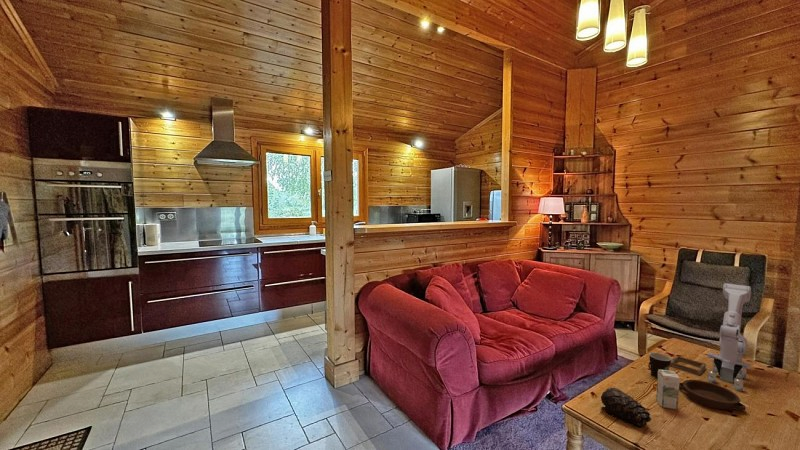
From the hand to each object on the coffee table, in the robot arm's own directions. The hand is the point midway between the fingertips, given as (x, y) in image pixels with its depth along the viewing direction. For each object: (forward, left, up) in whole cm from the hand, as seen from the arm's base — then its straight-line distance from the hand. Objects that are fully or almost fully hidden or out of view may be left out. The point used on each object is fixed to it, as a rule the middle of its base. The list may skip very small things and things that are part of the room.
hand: (727, 376), depth 160 cm
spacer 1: (+8, -4, -1) cm, 9 cm away
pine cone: (+70, -19, -2) cm, 73 cm away
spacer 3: (-8, +4, -1) cm, 9 cm away
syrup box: (+48, -11, -2) cm, 49 cm away
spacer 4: (+8, +5, -1) cm, 10 cm away
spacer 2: (-8, -5, -1) cm, 9 cm away
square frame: (0, -15, -1) cm, 15 cm away
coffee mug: (+23, -22, -2) cm, 32 cm away
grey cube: (0, 0, -1) cm, 1 cm away
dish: (+29, -1, -2) cm, 29 cm away
